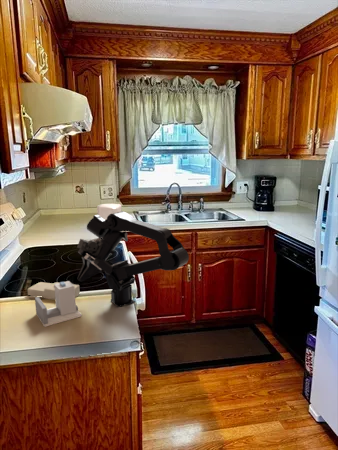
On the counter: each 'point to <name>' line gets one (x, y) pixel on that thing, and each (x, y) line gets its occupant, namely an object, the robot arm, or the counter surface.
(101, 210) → the pale rounded upright block
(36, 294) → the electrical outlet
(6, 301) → the counter surface
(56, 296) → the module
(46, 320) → the board
